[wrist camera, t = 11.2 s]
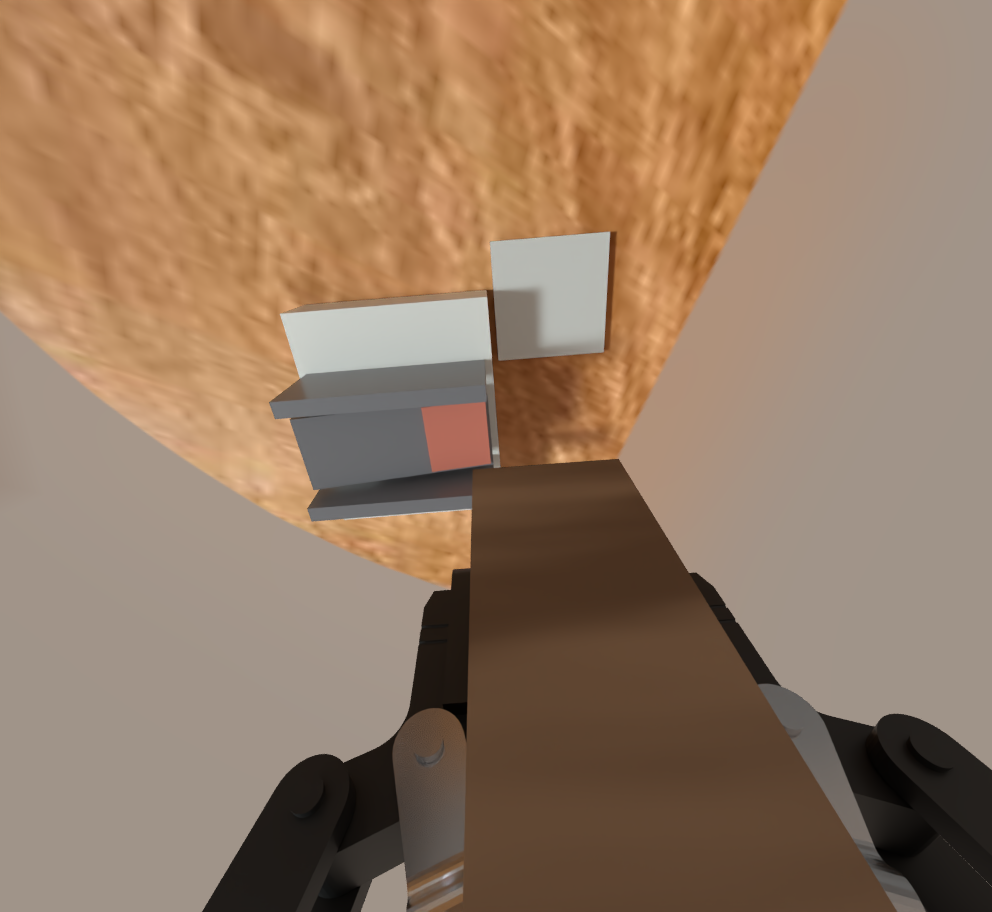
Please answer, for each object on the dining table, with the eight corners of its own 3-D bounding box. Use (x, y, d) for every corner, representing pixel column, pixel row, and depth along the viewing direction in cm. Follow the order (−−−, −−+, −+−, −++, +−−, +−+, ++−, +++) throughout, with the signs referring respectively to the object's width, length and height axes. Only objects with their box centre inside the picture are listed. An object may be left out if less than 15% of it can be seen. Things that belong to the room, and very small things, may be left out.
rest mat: (490, 241, 27) (490, 241, 27) (607, 231, 27) (610, 231, 27) (498, 359, 31) (498, 360, 31) (602, 350, 31) (603, 352, 31)
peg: (472, 469, 12) (441, 1758, 2) (618, 458, 12) (1366, 1673, 2) (483, 576, 15) (497, 1446, 4) (607, 566, 15) (934, 1412, 4)
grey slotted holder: (304, 304, 29) (233, 330, 21) (486, 289, 29) (488, 310, 20) (357, 492, 36) (320, 567, 28) (501, 481, 36) (507, 552, 28)
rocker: (295, 412, 25) (288, 421, 24) (485, 389, 27) (488, 396, 25) (317, 480, 28) (312, 491, 26) (490, 456, 29) (493, 465, 28)
